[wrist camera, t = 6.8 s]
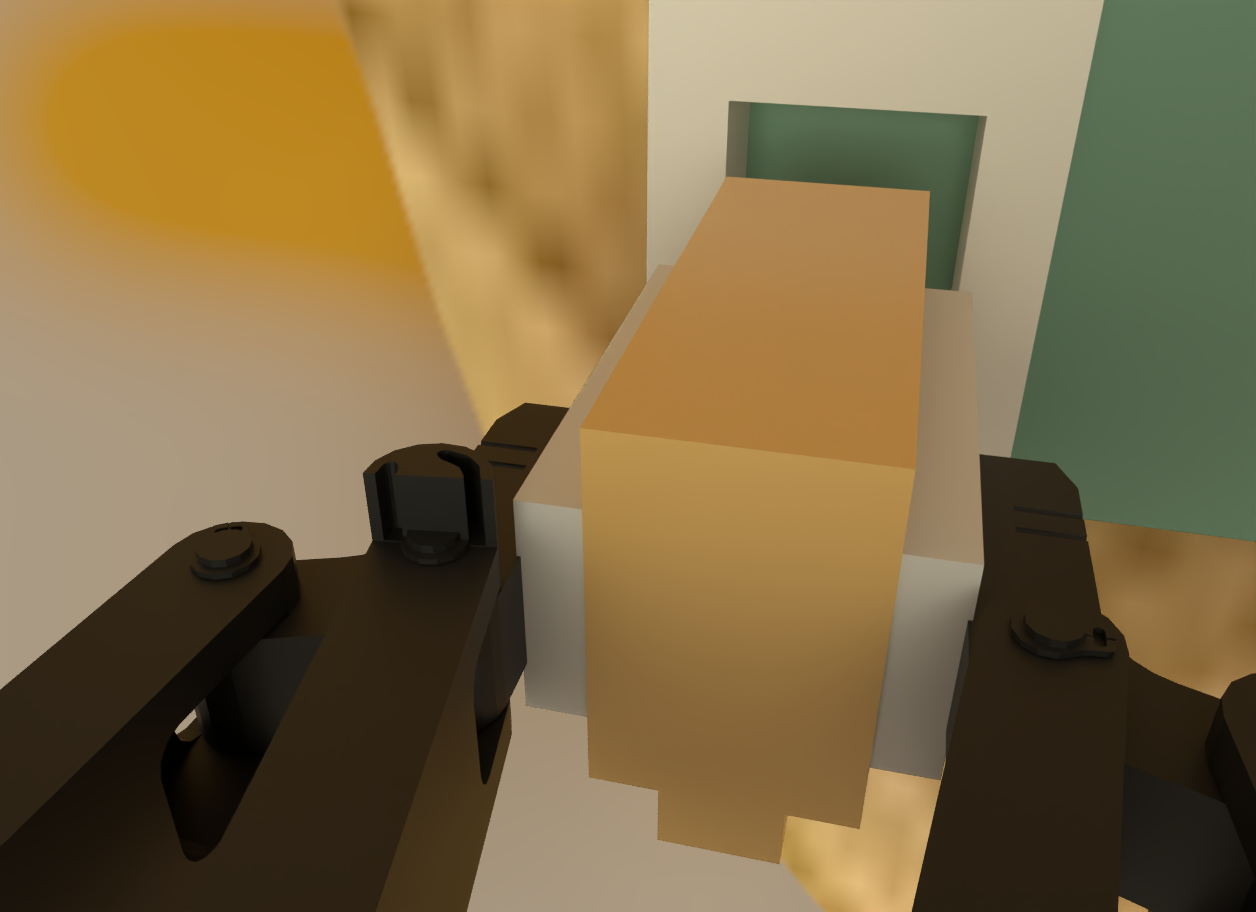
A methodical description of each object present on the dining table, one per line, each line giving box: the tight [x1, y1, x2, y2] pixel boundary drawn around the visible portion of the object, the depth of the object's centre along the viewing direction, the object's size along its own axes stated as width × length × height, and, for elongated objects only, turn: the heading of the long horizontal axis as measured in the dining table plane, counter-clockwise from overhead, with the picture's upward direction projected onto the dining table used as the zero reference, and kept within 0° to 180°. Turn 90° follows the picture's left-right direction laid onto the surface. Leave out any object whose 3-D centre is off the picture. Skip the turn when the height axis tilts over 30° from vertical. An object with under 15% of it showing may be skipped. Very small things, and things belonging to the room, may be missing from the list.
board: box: [646, 0, 1256, 542], centre depth 20 cm, size 21×12×4 cm, turn 89°
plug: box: [580, 177, 930, 864], centre depth 15 cm, size 3×5×8 cm, turn 179°
